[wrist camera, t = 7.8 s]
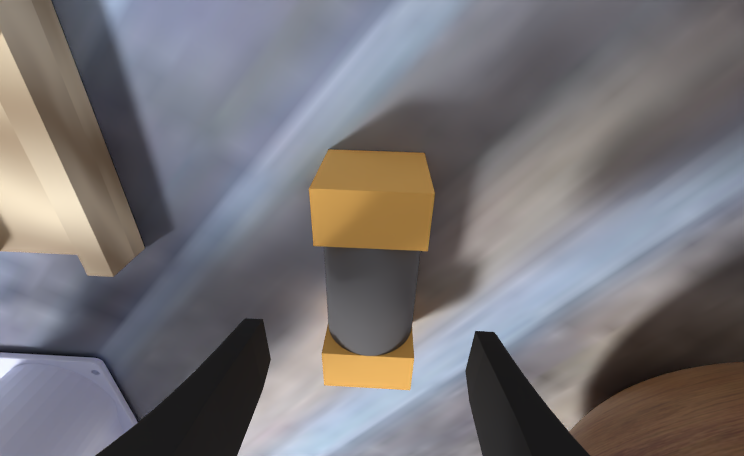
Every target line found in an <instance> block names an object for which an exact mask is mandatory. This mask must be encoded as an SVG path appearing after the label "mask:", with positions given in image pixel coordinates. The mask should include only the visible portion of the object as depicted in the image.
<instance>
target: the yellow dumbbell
mask: <svg viewBox="0 0 744 456" xmlns="http://www.w3.org/2000/svg"><path fill="white" fill-rule="evenodd" d="M309 195H310V208H311V221H312V234H313V246H324V257H325V274H326V291H327V308H328V326H327V331H326V336H325V341H324V345H323V350H322V362H323V375H324V385H329V386H347V387H365V388H382V389H400V390H410V387H411V379H412V371H413V363H414V350H413V335H412V320H413V311H414V303H415V294H416V285H417V276H418V267H419V258H420V251H428V245H429V237H430V229H431V221H432V213H433V205H434V197H435V192H434V188H433V184H432V180H431V176H430V172H429V169H428V165H427V161H426V157H425V153H415V152H388V151H361V150H333V149H328V151H327V153H326V155H325V157H324V159H323V161H322V163H321V165H320V167H319V169H318V172H317V174H316V176H315V178H314V180H313V182H312V184H311V186H310V188H309Z"/></svg>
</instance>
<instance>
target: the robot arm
mask: <svg viewBox="0 0 744 456" xmlns="http://www.w3.org/2000/svg"><path fill="white" fill-rule="evenodd" d="M270 360H271V358H270V353H269V348H268V343H267V338H266V332H265V327H264V322H263V319H246V318H245V319H244V320H243V321H242V322H241V323H240V324H239V325H238V326H237V327H236V329H235V330H234V331H233V332H232V333H231V334H230V335H229V336H228V337H227V338H226V339H225V341H224V342H223V343H222V344H221V345H220V346H219V347H218V348H217V349H216V350H215V351H214V352H213V353H212V354H211V355H210V356H209V357H208V358H207V359H206V360H205V361H204V362H203V364H202V365H201V366H200V367H199V368H198V369H197V370H196V371H195V372H194V373H193V374H192V375H191V376H190V377H188V378H187V379H186V380H185V381H184V382H183V383H182V384H181V385H180V386H179V387H178V388H177V389H176V390H175V391H174V392H173V393H171V394H170V395H169V396H168V397H167V398H166V399H165V400H164V401H163V402H161V403H160V404H159V405H158V406H157V407H156V408H155V409H153V410H152V411H151V412H150V413H149V414H148V415H146V416H145V417H144V418H143V419H142V420H140V421H139V422H137V420H136V418H135V416H134V415H133V413H132V411H131V409H130V408H129V406H128V404H127V402H126V401H125V399H124V397H123V395H122V394H121V392H120V390H119V388H118V387H117V385H116V383H115V381H114V379H113V378H112V376H111V374H110V372H109V371H108V369H107V367H106V365H105V364H104V362H103V361H102V360H100V359H98V358H92V357H74V356H56V355H38V354H20V353H2V352H0V456H237V454H238V452H239V449H240V447H241V444H242V442H243V439H244V436H245V434H246V431H247V429H248V426H249V424H250V421H251V419H252V416H253V414H254V411H255V408H256V406H257V403H258V401H259V398H260V395H261V393H262V390H263V387H264V383H265V379H266V376H267V372H268V368H269V364H270ZM466 378H467V387H468V394H469V401H470V406H471V410H472V414H473V418H474V422H475V426H476V430H477V434H478V438H479V442H480V446H481V450H482V455H483V456H590V455H589V453H588V452H587V451H586V450H585V449H584V448H583V447H582V446H581V445H580V444H579V443H578V441H577V440H576V439H575V438H574V437H573V436H572V435H571V434H570V432H569V431H568V430H567V429H566V428H565V427H564V425H563V424H562V423H561V422H560V421H559V419H558V418H557V417H556V416H555V415H554V413H553V412H552V411H551V410H550V409H549V407H548V406H547V405H546V403H545V402H544V401H543V400H542V398H541V397H540V396H539V394H538V393H537V392H536V391H535V389H534V388H533V387H532V385H531V384H530V383H529V381H528V380H527V379H526V377H525V376H524V374H523V373H522V372H521V370H520V369H519V367H518V366H517V365H516V363H515V362H514V360H513V359H512V357H511V356H510V354H509V353H508V351H507V350H506V349H505V347H504V346H503V344H502V343H501V341H500V339H499V338H498V336H497V335H496V334H495V333H494V332H484V331H475V335H474V339H473V343H472V347H471V351H470V355H469V359H468V363H467V367H466Z"/></svg>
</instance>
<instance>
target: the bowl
mask: <svg viewBox="0 0 744 456" xmlns="http://www.w3.org/2000/svg"><path fill="white" fill-rule="evenodd" d="M570 434H571V435H572V436H573V437H574V438H575V439H576V440H577V441H578V443H579V444H580V445H581V446H582V447H583V448H584V449H585V450H586V451H587V452H588V453H589V455H590V456H744V362H731V363H720V364H712V365H705V366H699V367H693V368H688V369H683V370H679V371H674V372H671V373H667V374H663V375H660V376H657V377H654V378H651V379H648V380H645V381H643V382H640V383H638V384H636V385H633V386H631V387H629V388H627V389H625V390H623V391H621V392H619V393H617V394H616V395H614V396H612V397H611V398H609V399H607V400H606V401H604V402H603V403H601V404H600V405H598V406H597V407H595V408H594V409H593V410H592V411H590V412H589V413H588V414H587V415H586V416H585V417H584V418H582V419H581V420H580V421H579V422H578V423H577V424H576V425H575V426H574V427H573V428H572V429H571V430H570Z"/></svg>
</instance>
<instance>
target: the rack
mask: <svg viewBox="0 0 744 456" xmlns="http://www.w3.org/2000/svg"><path fill="white" fill-rule="evenodd" d="M144 249H145V247H144V244H143V242H142V239H141V236H140V234H139V231H138V228H137V226H136V223H135V220H134V218H133V215H132V213H131V210H130V207H129V205H128V202H127V199H126V197H125V194H124V191H123V189H122V186H121V184H120V181H119V178H118V176H117V173H116V170H115V168H114V165H113V162H112V160H111V157H110V154H109V152H108V149H107V147H106V144H105V141H104V139H103V136H102V133H101V131H100V128H99V125H98V123H97V120H96V118H95V115H94V112H93V110H92V107H91V104H90V102H89V99H88V96H87V94H86V91H85V88H84V86H83V83H82V81H81V78H80V75H79V73H78V70H77V67H76V65H75V62H74V59H73V57H72V54H71V51H70V49H69V46H68V44H67V41H66V38H65V36H64V33H63V30H62V28H61V25H60V22H59V20H58V17H57V15H56V12H55V9H54V7H53V4H52V1H51V0H0V251H8V252H29V253H50V254H72V255H78V257H79V259H80V261H81V263H82V265H83V267H84V269H85V271H86V273H87V275H88V276H107V277H114V276H115V275H116V274H117V273H118V272H120V271H121V270H122V269H123V268H124V267H125V266H126V265H127V264H128V263H129V262H131V261H132V260H133V259H134V258H135V257H136V256H137V255H138V254H139V253H140V252H141V251H143V250H144Z"/></svg>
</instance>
